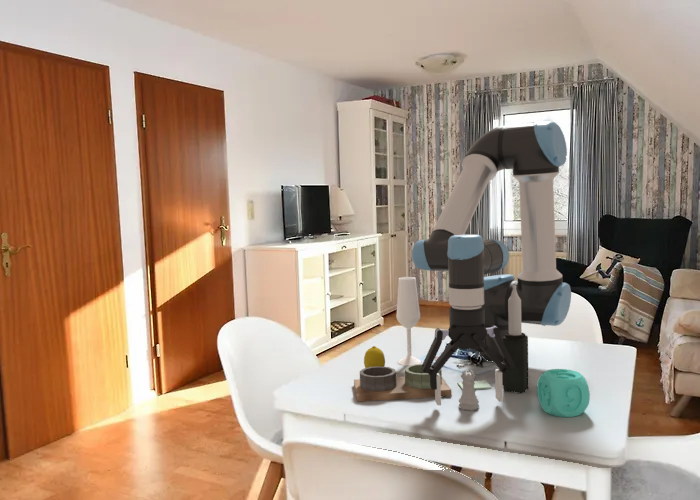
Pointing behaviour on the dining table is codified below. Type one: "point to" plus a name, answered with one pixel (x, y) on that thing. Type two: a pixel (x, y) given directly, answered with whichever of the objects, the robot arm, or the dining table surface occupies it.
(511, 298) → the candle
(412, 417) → the dining table surface
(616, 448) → the dining table surface
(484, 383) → the card
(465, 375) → the rook chess piece
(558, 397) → the decorative dice
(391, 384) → the double bowl stand
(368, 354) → the lemon
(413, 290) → the champagne flute
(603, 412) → the dining table surface
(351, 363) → the dining table surface
